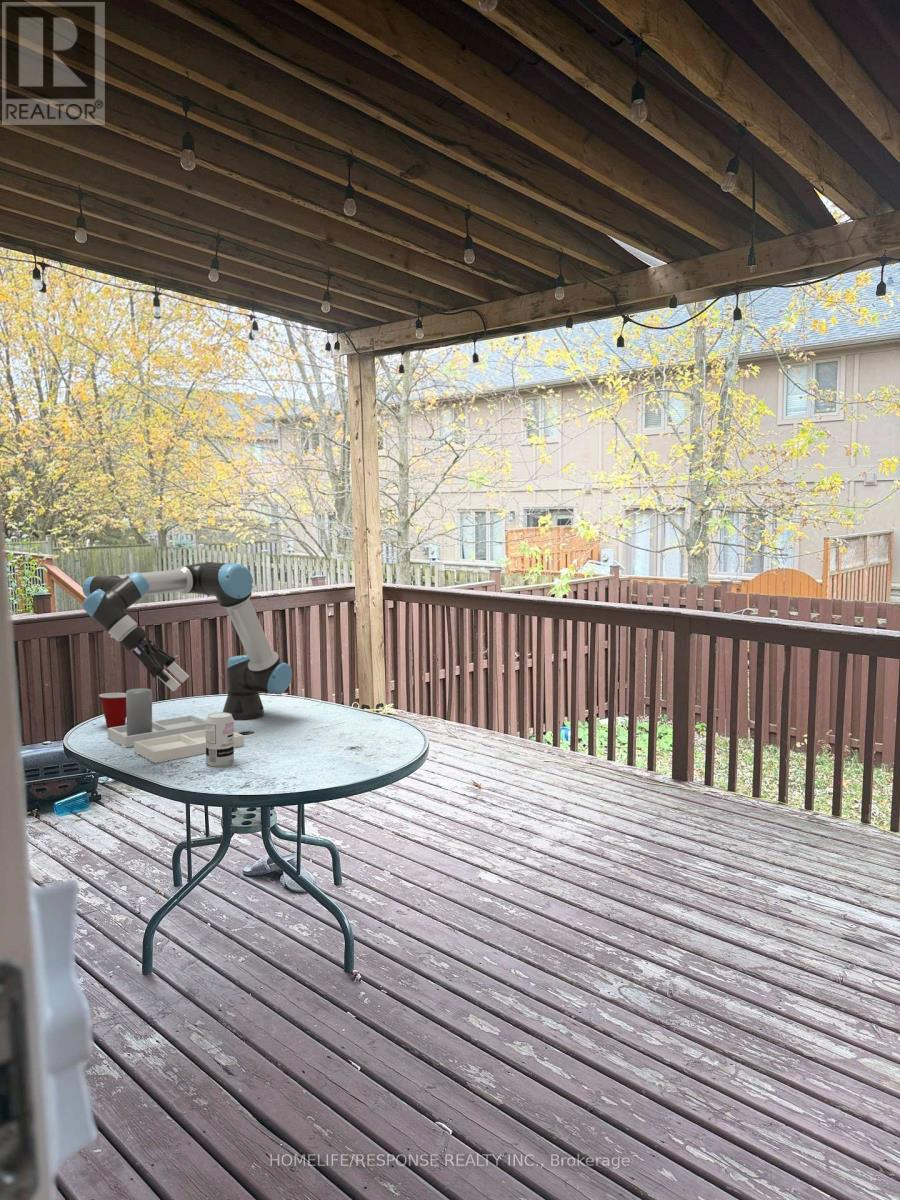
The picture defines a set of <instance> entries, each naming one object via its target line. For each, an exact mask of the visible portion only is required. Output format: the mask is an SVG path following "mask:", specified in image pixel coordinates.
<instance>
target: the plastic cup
mask: <svg viewBox="0 0 900 1200" xmlns="http://www.w3.org/2000/svg"><path fill="white" fill-rule="evenodd" d="M98 696H99V698H100V701H101V705H102V711H103V714H104V718H105V724H106V728H107V729H108V728H112V727H118V726H124V725H126V723H127V711H126V692H107V693H100V694H98Z"/></svg>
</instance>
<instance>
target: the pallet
mask: <svg viewBox="0 0 900 1200" xmlns="http://www.w3.org/2000/svg"><path fill="white" fill-rule="evenodd" d="M244 743H245V741H244V734H241V733H239V732H236V731H234V749H235V747H236V748H239V747H244V746H245V745H244ZM133 748H134V752H136V753H138V754H140V755H142V756H143V757H142V756H141V757H142V758H144V757H145V758H144V759H146V758H147V759H149V760H151V761H152V762H151V761H150V762H151V763H153V762H154V763H153V764H158V763H157V762H159V763H163V761H164V762H169V761H172V760H173V759H174V760H178V759H183V758H188V757H189V758H191V757H193V756H194V757H195V756H199V755H204V754H205V755H206V729H205V730H199V731H193V732H188V733H182V734H176V735H170V736H165V737H159V738H153V739H147V740H142V741H136V742H134V746H133ZM136 753H135V754H136ZM138 754H137V755H138ZM140 755H139V756H140ZM147 759H146V760H147ZM149 760H148V761H149ZM168 760H169V761H168Z"/></svg>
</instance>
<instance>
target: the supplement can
mask: <svg viewBox="0 0 900 1200" xmlns="http://www.w3.org/2000/svg"><path fill="white" fill-rule="evenodd" d="M205 720H206V753H205V763H206V764H207V765H208V766H210V767H216V768H217V767H227V766H230V765H231V764H233V762H234V761H235V748H234V732H235V730H234V728H235V725H234V724H235V719H233V717H232V714H230V713H225V712H223V711H222V712H213V713H208V714H207V717H206V719H205Z"/></svg>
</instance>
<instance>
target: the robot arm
mask: <svg viewBox="0 0 900 1200" xmlns="http://www.w3.org/2000/svg"><path fill="white" fill-rule="evenodd" d="M253 584H254V578H253V576H252V573H251V571H250V570H249V568H248V567H246V566H244V565H242V564H240V563H236V562H226V563H224V562H214V561H213V562H212V561H206V562H200V563H194V564H188V565H187V564H186V565H180V566H178V567H176V569H166V570H158V571H145V572H137V571H136V572H135V571H133V572H131V573H125V574H116V575H104V576H100V575H94V576H93V575H92V576H89V577H87V578H86V579H85V580H84V581H83V584H82V592H83V595H84V596H85V599H84V600H83V602H82V603H81V607H82V608H83V609H82V610H84V611H85V612H86V613H87V615H88V616H89V617H90V618H92V619H93V620H94V621H95V622H97V624H99V626H100V627H102V629H104V630H105V631H106V632H107V633H108V634H109V637H110V638H111V639H114V640H116V641H117V642H120V646H122V647H123V648H124V649H125V651H127V652H131V651H132V653H133V654H134V655H135V656H136V657H137V658H138V660H139V661H140V663H142V665H143V666H144V667H145V668H146V670H147V671H148V672H149V673H150V674H151V677H152V678H154V679H155V678H158V679H159V680H160V681H161V682H162V683H163V684H164V685H165V686H167V687H168V689H170V690H171V691H172V692H173V693H174V692H175V691H176V690H177V689H178V688H179V687H180V686H181V684H180V683H179V682H178V681H177V680H176V679H175V678H174V677H176V678H177V679H178V680H179V681H180V682H181V683H182V684H183V683H184V682H185V681H186V680H187V679H188V678H189V677H190V675H189V674H188V673H187V672H186V671H184V670H183V668H181V667H180V666H179V665H178V664H177V663H176V662H175V661H176V658H175V657H172V656H171V655H170V654H168V653H167V652H166V651H164V650H163V649H161V648H160V647H159V646H158V645H156V643H154V642H153V641H152V640H150V639H148V640H145V639H146V638H147V636H148V633H147V631H146V630H144V629H143V627H141V625H140V626H139V625H138V623H137V622H136V621H135V620H134V619H133V618H132V617H131V616H130V615H129V614H128V613H127V612H126V610H127V609H129V608H130V607H131V606H133V604H135V603H136V602H137V601H140V599H142V598H143V597H145V596H152V595H153V596H154V595H159V594H160V595H161V594H162V595H163V594H169V593H179V594H182V595H185V594H195V595H205V596H212V597H215V598H216V600H217V602H218V604H219V606H220V608H224V609H226V611H227V613H228V615H229V617H230V620H231V622H232V625H233V626H234V629H235V630H236V633H237V635H238V637H239V639H240V642H241V644H242V647H243V649H244V651H245V653H246V654H243V655H242V654H241V655H235V656H230V657H229V658H228V660H227V667H226V672H227V673H226V681H227V695H226V696H227V697H226V699H225V703H224V707H223V709H222V712H225V713H230V714H232V717H233V719H234V720H235V719H237V721H239V720H242V721H243V720H244V719H245V720H254V719H257V718H258V717H259V718H261V717H263V716H264V714H265V710H264V705H263V701H262V700H261V699H262V698H261V696H260V692H261V693H267V694H270V695H272V694H273V695H274V694H275V695H278V694H280V695H281V694H283V693H284V692H286V690H287V689H288V688H289V686H290V685H291V681H292V679H293V671H292V667H291V666H290V665H289V664H288V663H286V662H282V660H281V658H280V655H279V654H278V652H276V651H275V650H272V648H271V645H270V643H269V641H268V639H267V637H266V634H265V632H264V630H263V627H262V625H261V622H260V620H259V618H258V615H257V613H256V611H255V608H254V607H253V606H254V605H253V603H252V602H251V599H250V598H251V597H252V594H253V593H252V591H253V587H254V586H253ZM160 664H162V665H163V666H165V667H166V669H167V670H168V671H170V672H171V674H172V675H174V677H173V676H172V675H171V674H170V673H169V672H168V671H166V669H163V668H162V666H161V665H160ZM245 720H244V721H245Z"/></svg>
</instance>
